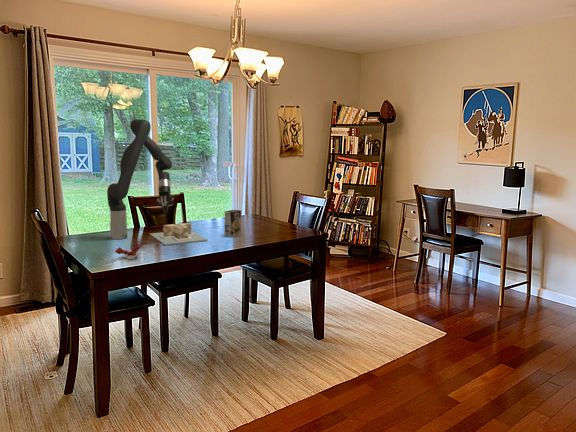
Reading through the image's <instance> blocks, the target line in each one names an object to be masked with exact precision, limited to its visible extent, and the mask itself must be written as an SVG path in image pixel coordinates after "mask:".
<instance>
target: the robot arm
mask: <svg viewBox="0 0 576 432" xmlns="http://www.w3.org/2000/svg"><path fill="white" fill-rule="evenodd" d="M151 125H152V124H151V122H150V121H149V120H146V119H139V118H138V119H137V118H136V119H132V121H130V126H129V128H130V130H131V132H132V133H133V135H134V136H135V137H134V138H133V141H132V142H131V143H130V144H129V145H128V146H127V147H126V148H125V150H124V151H123V154H122V157H121V158H120V162H119V163H120V164H119V165H120V166H119V167H120V174H119V179H118V181H117V182H115V183H110V184H109V185H108V187H107V190H106V191H107V192H106V195H107V204H108V207H109V213H110V214H109V215H110V216H109V217H110V222H109V231H110V232H109V233H110V238H111V240H123V239H127V238H128V224H127V223H128V222H127V221H128V220H127V217H128V216H127V206H126V204H125V203H124V201H123V200H124V199H126V197H127V195H128V194H129V189H130V184H131V182H132V181H131V180H132V178H133V175H134V173H135V170H136V167H137V166H138V165H137V164H138V161H139V158H140V155H141V152H142V150H143V148H144V147H145V148H146V149H147V151H148V152H149V155H151V157H152V159H153V160H154V161H156V162H155V168H156V171H157V175H158V187H157V188H158V198H157V199H156V200H155V203H157V205H158V206H159V207H161V208H162V212H163V213H164V214H165V213H168V211H169V206H171V205H172V203H173V201H174V200H175V197H174V196H172V195H171V194H172V193H171V179H170V177H171V176H170V173H169V172H168V171H167V170H170V169H172V168H173V162H172V160H171V159H170V158H169V157H168V156H167V155H166V154H165V153H163V151H162V150H161V148H160V146H159V145H158V144H157V143H156V142H155V141H154V140H153V139H152V138H151V137H150V136H149V135H150V132H151V128H152V127H151Z"/></svg>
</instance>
